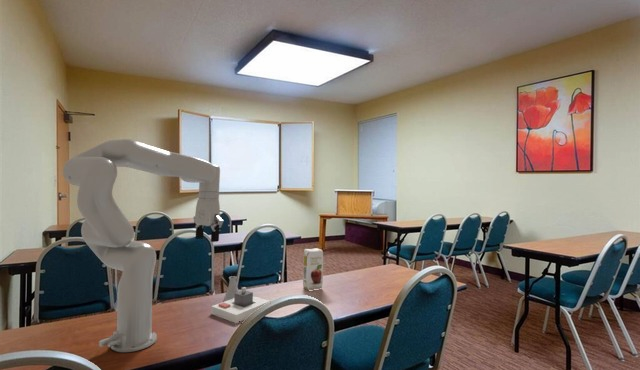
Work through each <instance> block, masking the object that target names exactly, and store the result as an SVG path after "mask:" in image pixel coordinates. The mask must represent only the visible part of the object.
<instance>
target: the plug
mask: <svg viewBox="0 0 640 370" xmlns="http://www.w3.org/2000/svg"><path fill="white" fill-rule="evenodd" d="M253 296H254V293H253V291H248V290H247V287H245V286H243V287H241V290H240V291H239V292H237V293H235V297H234V304H235V305H238V306H241V307H246V306H249V305H251V304H253Z"/></svg>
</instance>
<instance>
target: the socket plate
mask: <svg viewBox="0 0 640 370" xmlns="http://www.w3.org/2000/svg"><path fill="white" fill-rule="evenodd" d="M268 302H270V303H271V300H268V299H265V298H262V297H259V296H254V295H253V304H251V305H249V306H246V307H241V306H238V305H235V304H234V298H233V299H230V300H227V301H222V302H220V303H217V304H214V305H211V307H210V310H211V311H210V312H211V313H210V314H211V315H213V316H216V317H217V318H221V319H224V320H226V321H229V322H232V323H235V324H238V323H240V322H243V321H245V320H247V319H248V318H247V317H248V316H249V315H250V314H251V313H253V312H254V311H255V310H257V309H258V308H260V307H261V306H263V305H264V304H266V303H268ZM246 318H247V319H246ZM239 321H240V322H239Z"/></svg>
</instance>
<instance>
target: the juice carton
mask: <svg viewBox="0 0 640 370" xmlns="http://www.w3.org/2000/svg"><path fill="white" fill-rule="evenodd" d="M302 262H303V265H302V285H303V286H302V287H303V289H305V288H306V289H307V291H308V290H314V289H320V288H322V289H323V283H324V282H323V281H324V280H323V279H324V278H323V277H324V250H323V249H320V248H317V247H315V248H304V251H303V261H302ZM306 289H305V290H306Z"/></svg>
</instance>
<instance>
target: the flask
mask: <svg viewBox="0 0 640 370" xmlns="http://www.w3.org/2000/svg"><path fill="white" fill-rule="evenodd" d="M228 279H229V283H228V288H227V291H226V293H225V296H224V298H223V301H222V302H225V301H227V300H230V299H233V298H234V297H235V293H237V292H239V288H238V285H237V279H238V277H237V276H235V275H234V276H232V275H231V276H229V277H228Z"/></svg>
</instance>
